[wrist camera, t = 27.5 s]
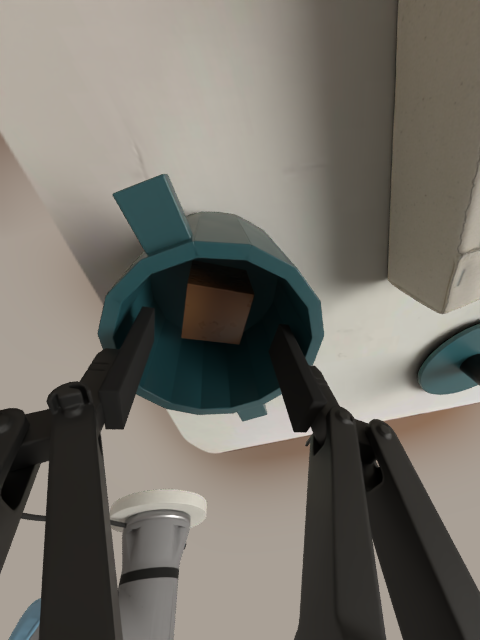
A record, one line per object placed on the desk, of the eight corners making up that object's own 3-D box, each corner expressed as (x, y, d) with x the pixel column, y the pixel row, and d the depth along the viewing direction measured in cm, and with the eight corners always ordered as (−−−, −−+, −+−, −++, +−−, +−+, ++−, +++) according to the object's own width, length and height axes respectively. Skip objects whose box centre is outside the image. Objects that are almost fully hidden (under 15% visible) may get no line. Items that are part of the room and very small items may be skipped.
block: (186, 307, 22) (180, 338, 18) (192, 259, 19) (187, 283, 15) (234, 314, 23) (239, 345, 19) (246, 270, 20) (254, 294, 16)
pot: (192, 367, 28) (184, 445, 20) (90, 210, 17) (-17, 242, 9) (296, 336, 26) (331, 405, 19) (257, 145, 16) (301, 117, 8)
